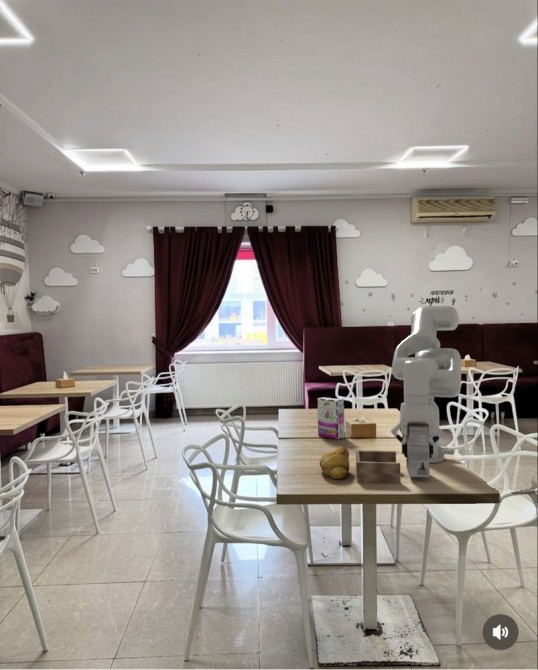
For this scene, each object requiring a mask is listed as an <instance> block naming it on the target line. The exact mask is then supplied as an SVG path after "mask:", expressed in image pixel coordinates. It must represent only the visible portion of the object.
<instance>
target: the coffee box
mask: <svg viewBox="0 0 538 670" xmlns="http://www.w3.org/2000/svg"><path fill="white" fill-rule="evenodd" d="M406 444H407V457H405V461H406V470H407V473H408V477H410V478H431V477H430V475H431V474H430V472H431V471H430V468H431V467H430V465H431V463H429V425H428V424H421V423H408V424H407V441H406Z"/></svg>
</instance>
